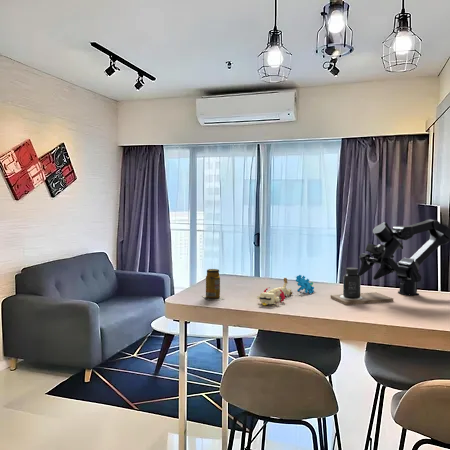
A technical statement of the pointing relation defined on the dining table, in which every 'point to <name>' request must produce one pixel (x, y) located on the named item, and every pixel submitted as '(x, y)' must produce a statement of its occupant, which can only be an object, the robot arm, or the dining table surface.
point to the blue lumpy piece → (304, 284)
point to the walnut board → (363, 298)
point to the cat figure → (274, 294)
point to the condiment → (213, 285)
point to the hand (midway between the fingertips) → (366, 277)
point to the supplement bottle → (351, 283)
